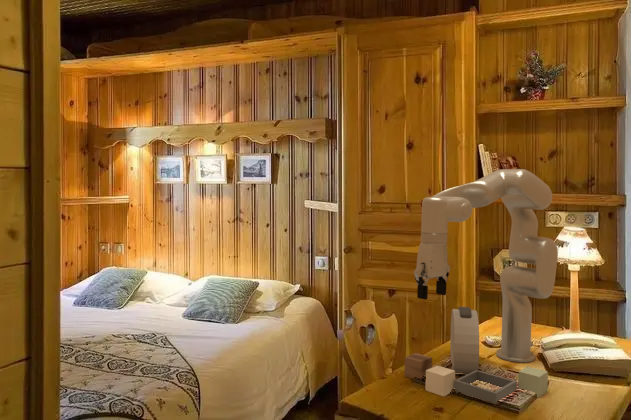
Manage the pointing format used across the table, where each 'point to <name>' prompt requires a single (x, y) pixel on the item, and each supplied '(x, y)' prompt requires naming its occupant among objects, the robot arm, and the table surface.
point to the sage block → (533, 380)
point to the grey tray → (475, 391)
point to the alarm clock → (464, 340)
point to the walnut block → (417, 365)
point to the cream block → (440, 380)
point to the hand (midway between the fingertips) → (431, 296)
